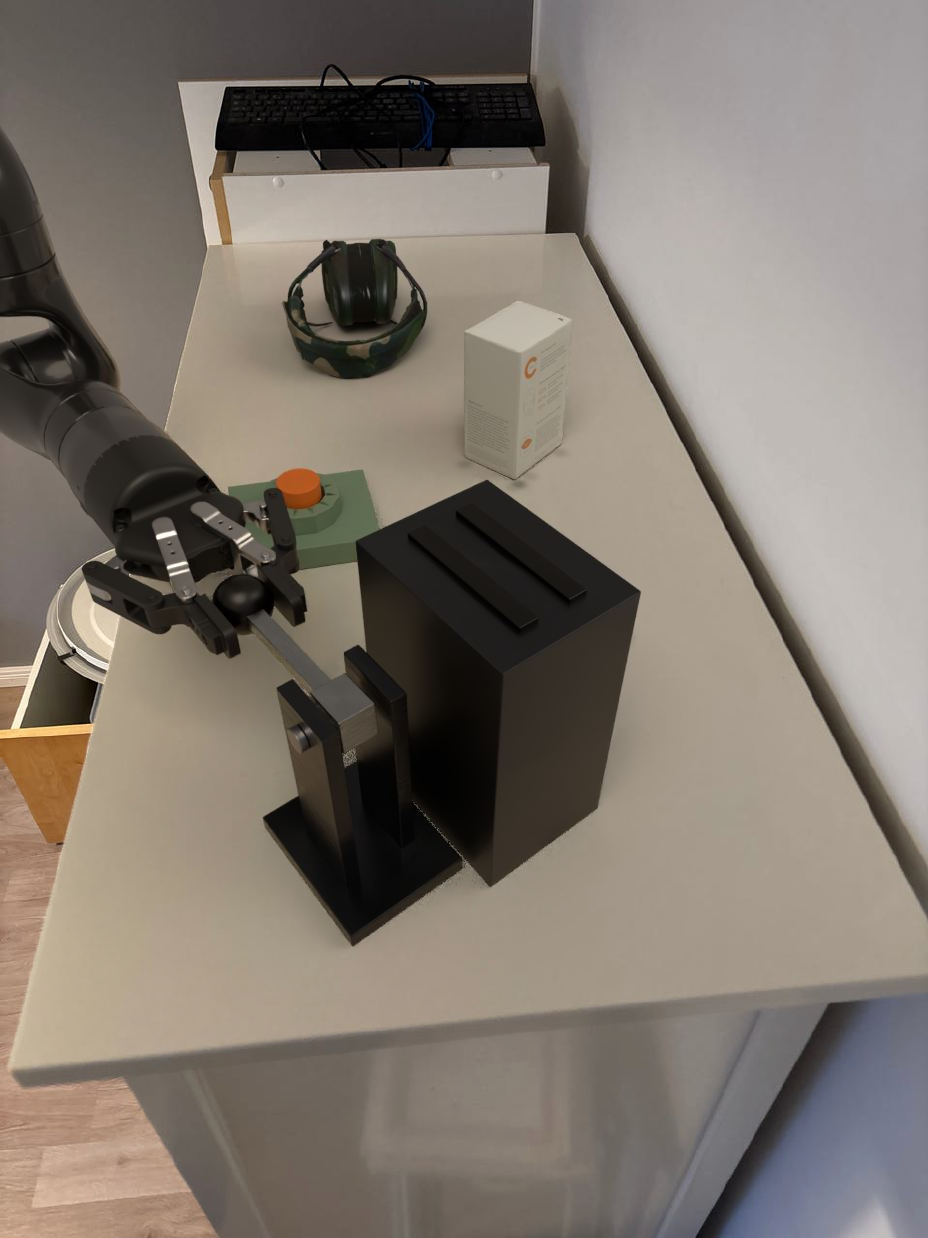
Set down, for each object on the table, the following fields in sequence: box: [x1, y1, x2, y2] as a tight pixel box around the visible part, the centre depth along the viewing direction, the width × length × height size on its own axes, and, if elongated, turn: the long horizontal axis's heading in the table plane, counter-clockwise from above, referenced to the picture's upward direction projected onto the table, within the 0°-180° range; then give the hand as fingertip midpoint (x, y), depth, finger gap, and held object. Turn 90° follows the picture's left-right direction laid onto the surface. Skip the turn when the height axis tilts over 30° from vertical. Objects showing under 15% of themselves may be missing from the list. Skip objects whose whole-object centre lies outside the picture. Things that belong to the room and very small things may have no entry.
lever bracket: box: [262, 644, 463, 947], centre depth 50 cm, size 10×8×15 cm
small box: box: [463, 300, 574, 480], centre depth 82 cm, size 8×6×13 cm
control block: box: [227, 469, 381, 570], centre depth 76 cm, size 12×10×4 cm
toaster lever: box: [210, 574, 378, 755], centre depth 49 cm, size 14×4×4 cm, turn 39°
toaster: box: [355, 479, 642, 888], centre depth 52 cm, size 12×9×19 cm
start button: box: [276, 467, 322, 510], centre depth 74 cm, size 4×4×2 cm
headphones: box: [281, 238, 428, 379], centre depth 100 cm, size 13×13×20 cm
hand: (266, 629), depth 51 cm, fingers closed on toaster lever, 3 cm apart
